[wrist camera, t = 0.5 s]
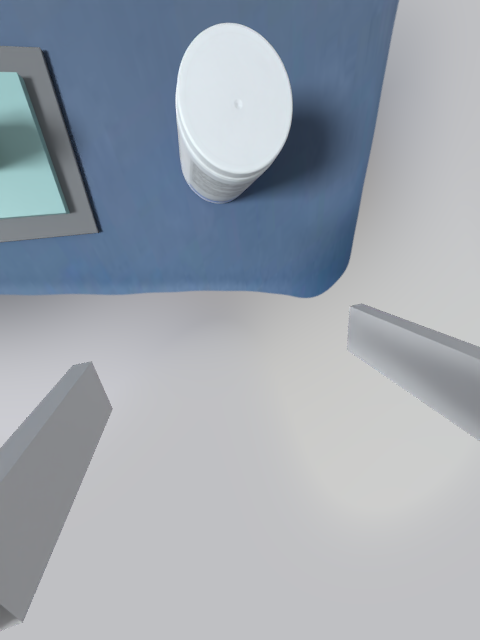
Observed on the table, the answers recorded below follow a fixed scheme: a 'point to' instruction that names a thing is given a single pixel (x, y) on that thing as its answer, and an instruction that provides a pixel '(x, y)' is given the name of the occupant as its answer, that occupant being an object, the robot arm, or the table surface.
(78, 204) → the mat
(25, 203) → the lid
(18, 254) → the table surface
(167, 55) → the table surface
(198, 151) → the supplement tub
